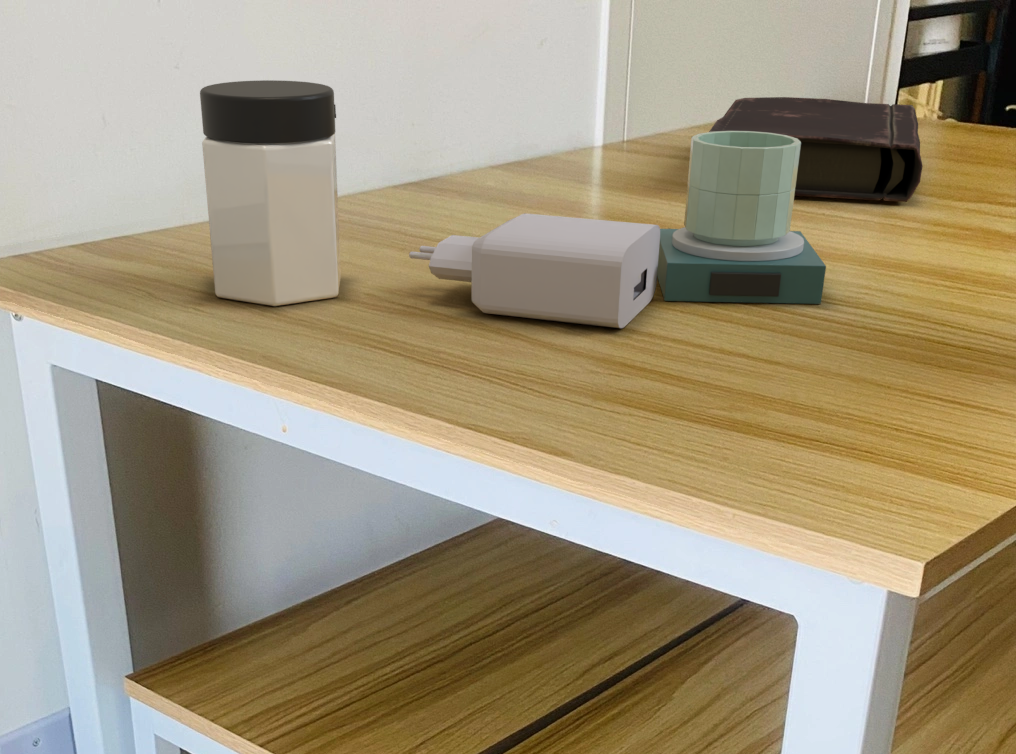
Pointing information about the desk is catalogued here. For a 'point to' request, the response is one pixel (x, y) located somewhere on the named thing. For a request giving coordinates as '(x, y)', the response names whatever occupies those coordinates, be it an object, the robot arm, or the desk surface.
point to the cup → (741, 187)
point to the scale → (739, 270)
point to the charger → (555, 268)
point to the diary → (840, 144)
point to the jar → (272, 190)
